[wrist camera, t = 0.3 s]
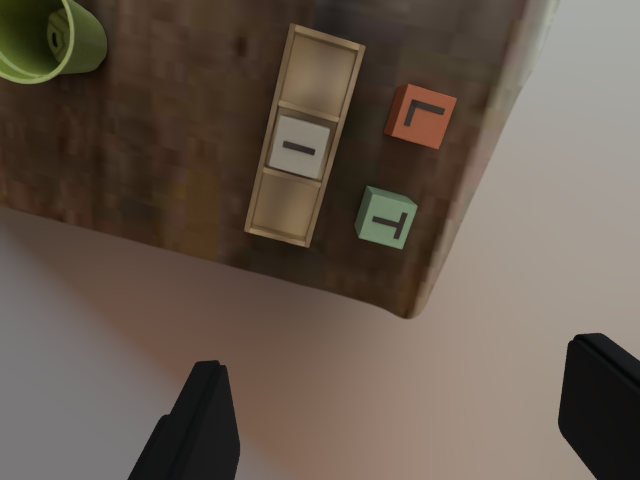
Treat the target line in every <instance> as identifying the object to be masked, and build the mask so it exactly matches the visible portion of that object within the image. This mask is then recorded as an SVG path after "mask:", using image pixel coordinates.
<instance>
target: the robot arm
mask: <svg viewBox="0 0 640 480" xmlns="http://www.w3.org/2000/svg"><path fill="white" fill-rule="evenodd" d="M558 425H559V429H560V432H561V434H562V435H563V437H564V438H565V439H566V440H567V442H568V443H569V444H570V446H571V447H572V448H573V450H574V451H575V452H576V453H577V454H578V456H579V457H580V458H581V460H582V461H583V462H584V464H585V465H586V466H587V467H588V469H589V470H590V471H591V473H592V474H593V475H594V476H595V478H596V479H597V480H640V361H639V360H637V359H636V358H635V357H633V356H632V355H631V354H630V353H628V352H627V351H625V350H624V349H623V348H621V347H620V346H619V345H617V344H616V343H615V342H613V341H612V340H610V339H609V338H608V337H607V336H605V335H604V334H601V333H590V334H578V335H576V336H575V337H574V339H573V340H572V341H570V342H569V343H568V348H567V355H566V363H565V371H564V379H563V387H562V394H561V402H560V409H559V417H558ZM239 456H240V441H239V435H238V430H237V424H236V419H235V412H234V407H233V401H232V395H231V389H230V384H229V379H228V372H227V368H226V366H225V365H220V363H219V361H217V360H214V361H200V362H196V363H195V365H194V367H193V369H192V371H191V373H190V375H189V377H188V379H187V381H186V383H185V385H184V387H183V389H182V391H181V393H180V395H179V397H178V399H177V401H176V403H175V405H174V407H173V409H172V411H171V413H170V414H168V415H164V416H162V417H161V418H160V420H159V421H158V423H157V425H156V427H155V429H154V430H153V432H152V434H151V436H150V438H149V440H148V442H147V444H146V445H145V447H144V450H143V451H142V453H141V455H140V457H139V459H138V461H137V462H136V465H135V466H134V468H133V470H132V472H131V474H130V476H129V478H128V480H234V478H235V474H236V469H237V465H238V461H239Z"/></svg>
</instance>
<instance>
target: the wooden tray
mask: <svg viewBox="0 0 640 480" xmlns="http://www.w3.org/2000/svg"><path fill="white" fill-rule="evenodd" d="M365 48H366V46H364V45H360V44H357V43H354V42H351V41H348V40H344V39H341V38H338V37H335V36H332V35H328V34H325V33H322V32H319V31H315V30H312V29H309V28H306V27H303V26H299V25H296V24H293V23H290V26H289V30H288V35H287V39H286V44H285V48H284V53H283V57H282V62H281V66H280V71H279V75H278V80H277V84H276V89H275V93H274V98H273V102H272V107H271V111H270V115H269V120H268V124H267V129H266V133H265V138H264V142H263V147H262V151H261V156H260V160H259V165H258V169H257V174H256V178H255V183H254V187H253V191H252V196H251V200H250V205H249V209H248V214H247V218H246V223H245V227H244V231H245V232H249V233H253V234H256V235H260V236H264V237H268V238H272V239H276V240H280V241H284V242H288V243H292V244H295V245H299V246H304V247H307V248H309V246H310V242H311V239H312V235H313V232H314V228H315V224H316V221H317V217H318V214H319V210H320V207H321V203H322V200H323V196H324V193H325V189H326V186H327V182H328V179H329V175H330V171H331V168H332V164H333V161H334V157H335V154H336V150H337V147H338V143H339V140H340V136H341V133H342V129H343V126H344V122H345V119H346V115H347V111H348V108H349V104H350V101H351V97H352V94H353V90H354V87H355V83H356V80H357V76H358V73H359V69H360V66H361V62H362V58H363V55H364V51H365ZM281 115H286V116H290V117H293V118H297V119H300V120H304V121H307V122H311V123H314V124H318V125H321V126H324V127H328V128H329V129H330V133H329V137H328V140H327V144H326V148H325V151H324V155H323V159H322V162H321V166H320V170H319V173H318V177H317V179H314V178H311V177H307V176H304V175H300V174H296V173H293V172H289V171H285V170H282V169H278V168H274V167H271V166H269V162H270V158H271V153H272V149H273V145H274V140H275V136H276V132H277V127H278V123H279V119H280V116H281Z"/></svg>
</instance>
